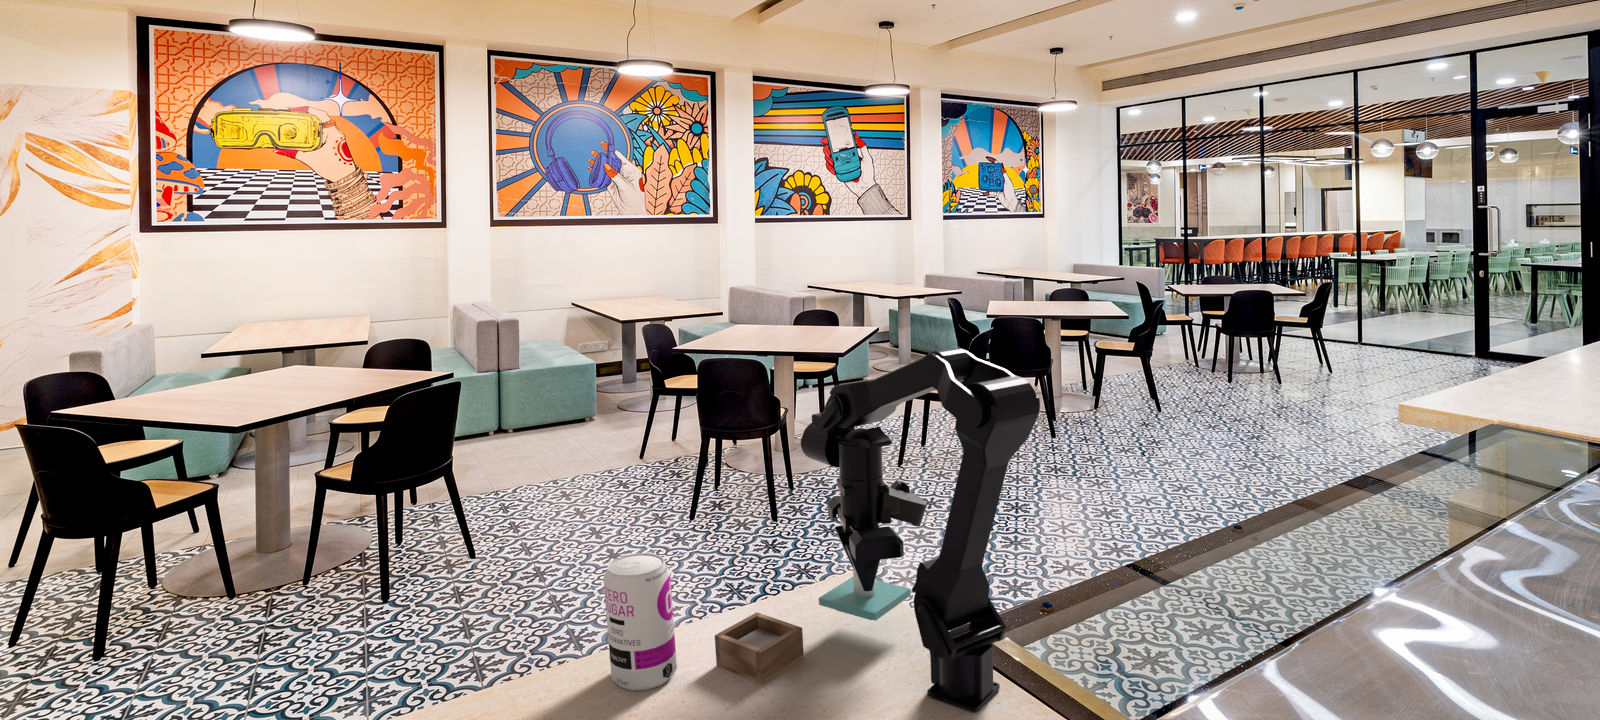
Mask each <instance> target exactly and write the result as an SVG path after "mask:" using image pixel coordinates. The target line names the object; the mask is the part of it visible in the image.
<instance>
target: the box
mask: <svg viewBox="0 0 1600 720" xmlns="http://www.w3.org/2000/svg"><path fill="white" fill-rule="evenodd" d="M803 634H804V633H803V627H802V626H798V625H795V624H793V623H790V622H787V621H784V620H781V619H778V618H775V617H773V616H769V615H766V614H764V613H761V612H757V611H755V613H753V614H751V615H749V616H747V617H745V618H743V619H742V620H740V621H738V622H736V623H735V624H732V625H731V626H729V627H727V628H726V629H723V630H722V631H720V632H718V633H717V634H715V635H714V644H715V645H714V647H715V648H714V649H715V661H716V662H715V663H716V667H718V668H721V669H723V670H725V671H728V672H731V673H733V674H735V675H738V676H740V677H743V678H745V679H747V680H749V681H751V682H754V683H757V684H759V685H762V686H763V685H765V684H766V683H768V682H769V681H771V680H772V679H774V678H776V677H777V676H779V675H780V674H781V673H783V672H785V671H786V670H788V669H790V668H791V667H792V666H794V665H796V664H797V663H799V662H800V661H802V660H803V659H805V658H804V657H805V655H804V652H805V651H804V640H803V639H804V636H803Z"/></svg>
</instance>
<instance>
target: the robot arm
mask: <svg viewBox="0 0 1600 720" xmlns="http://www.w3.org/2000/svg"><path fill="white" fill-rule="evenodd" d="M964 385H965V386H964ZM934 391H937V395H938V397H939V400H940V404H941V406H942V408H943V409H945V410H946V411H947V412H948V413H949V414H951V416H953V417H955V427H954V429H955V432H956V435H957V438H958V439H959V441H960V445H961V447H962V450H963V451H962V452H963V453H962V457H961V462H960V466H959V471H958V475H957V479H956V483H955V488H954V492H953V496H952V501H951V505H950V509H949V513H948V518H947V522H946V526H945V527H946V528H945V531H944V535H943V539H942V544H941V548H940V553H939V555H938V557H935V558H931V559H927V560H925V561H922V562H920V563H919V565H918V566H917V569H916V577H915V583H914V585H913V587H912V588H911V592H912V593H914V597H913V608H914V609H913V610H914V614H915V618H916V623H917V627H918V631H919V634H920V635H919V636H920V640H921V643H922V646H923V647H924V648H925V649H927V650H928V651H929V656H930V682H931V684H933V685H932V686H931V687H929V688H928V689H927V692H926V693H927V696H928V697H931V698H933V699H936V700H940V701H943V702H945V703H948V704H951V705H953V706H956V707H959V708H962V709H964V710H968V711H971V712H977V711H979V710H980V709H981V708H982V707H983V706H984V705H985V704H986V703H987V702H988V701H989V700H990V699H991V698H992V697H993V696H994V695H995V694H996V693H997V692H998V691H999V690H1000V687H1001V686H1000V683H998V682H996V681H994V645H993V643H995V642H1000V641H1002V640H1003V639H1004V637H1005V636H1004V635H1005V633H1006V630H1007V626H1006V624H1005V623H1004V620H1003V619H1002V617H1001V616H1000V613H999V612H998V611H997V609H996V607H995V606H994V605H995V604H994V603H993V602H992V600H991V599H990V596H989V595H990V594H989V593H990V581H989V579H988V576H987V575H986V572H985V570H984V568H983V567H984V566H983V564H984V560H985V555H986V551H987V548H988V544H989V539H990V537H991V533H992V528H993V523H994V521H995V520H994V519H995V516H996V512H997V508H998V505H999V501H1000V496H1001V493H1002V489H1003V484H1004V481H1005V477H1006V474H1007V470H1008V466H1009V463H1010V460H1011V458H1013V457H1014V455H1015V454H1016V453H1017V452H1018V450H1019V449H1020V448H1021V447H1022V446H1023V445H1024V444H1025V442H1026V441H1027V440H1028V439H1029V437H1030V435H1031V433H1032V431H1033V429H1034V426H1035V424H1036V422H1037V420H1038V417H1039V414H1040V412H1041V410H1040V409H1041V400H1040V397H1038V396H1037V393H1036V390H1035V389H1034V387H1033V386H1032V384H1031V383H1030V382H1029V381H1028V380H1026V379H1025V377H1022V376H1018V375H1015V374H1013V373H1012V372H1011V371H1009V370H1008V369H1006V368H1004V367H1001V366H999V365H996V364H994V363H991V362H989V361H986V360H983V359H981V358H978V357H976V356H975V355H974V354H973V353H971V352H969V351H968V350H966V349H964V348H961V347H954V348H953V347H952V348H945V349H940V350H934V351H930V352H928V354H926V355H924V356H923V357H921V358H919V359H917V360H914V361H912V362H910V363H908V364H906V365H903V366H901V367H898V368H896V369H895V370H892V371H890V372H887V373H885V374H883V375H881V376H878V377H876V378H872V379H866V380H865V379H864V380H859V381H853V382H848V383H841V384H836V385H834V386H833V387H832V388H831V389H830V390H829V394H830V396H829V397H828V398H827V401H826V403H825V406H823V407H824V408H823V410H822V412H818V413H813V414H811V423H809V424H808V425H807V426H806V427H805V429H804V430H803V433H802V436H801V437H800V448H801V450H802V453H803V454H804V456H806V457H807V458H809V459H812V460H814V461H817V462H819V463H822V464H825V465H828V466H831V467H832V468H838V469H839V478H836V487H837V488H838V489H839V491H840V492H839V493H840V495H834V496H832V498H831V499H830V500H829V501H828V502H827V516H828V518H829V519H830V521H831V522H836V520H837V517H838V518H839V520H840V521H839V522H840V525H836V526H834V531H835V532H836V534H837V537H838V539H839V542H840V544H841V546H842V547H843V549H844V552H845V555H846V557H847V560H848V561H849V564H850V566H851V568H852V569H853V566H854V568H855V571H856V573H857V575H858V578H859V580H860V583H861V585H862V587H863V590H864V591H871V590H872V589H873V585H874V581H875V579H876V578H877V575H878V574H877V573H878V570H879V566H880V563H881V561H882V560H891V559H899V558H900V559H901V558H902V557H904V555H905V554H904V553H905V552H904V541H903V539H902V538H901V537H900V535H899V534H898V533H897V532H896V531H895V530H894V529H893V528H892V527H891V526H881V527H880V526H879V524H882V525H888V524H892V519H893V520H896V521H900V522H903V523H908V524H911V526H913V527H921V525H922V521H923V519H924V515H925V512H926V509H927V506H928V503H927V502H926V501H925V500H924V499H922V497H921V496H918V495H917V494H916V493H914V492H911V490H910V489H911V488H910V485H909V484H908V483H907V482H905V481H902V480H899V479H896V480H895V481H894V482H893V483H892V484H891V485H890V486H889V485H888V484H886V482H885V481H884V476H883V474H884V473H883V447H887V446H891V445H892V444H893V441H892V439H891V438H890V437H889V435H888V434H886V433H885V432H884V431H883V430H882V429H883V428H881V426H874V427H870V428H863V427H861V426H865V425H870V424H873V423H878V422H882V421H884V420H886V419H887V418H888V417H889V416H892V414H894V413H895V412H896V411H897V407H898V406H899V405H901V404H902V403H905V402H908V401H911V400H913V399H916V398H918V397H921V396H924V395H926V394H929V393H931V392H934ZM856 427H857V428H856ZM858 427H859V428H858Z"/></svg>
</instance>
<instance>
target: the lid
mask: <svg viewBox="0 0 1600 720" xmlns="http://www.w3.org/2000/svg"><path fill="white" fill-rule="evenodd" d="M852 574H853V575H852V577H850V578H848V579H847V580H845V581H843V582H842V583H840V584H839V585H837V586H835V587H834V588H832V589H830V590H829V591H828V592H826V593H824V594H823V595H821V596H818V606H821V607H825V608H829V609H832V610H835V611H838V612H841V613H845V614H848V615H853V616H856V617H858V618H862V619H865V620H869V621H874V622H876V621H877V620H879V619H881V618H882V617H883V616H885V615H886V614H887V613H889V612H890V611H891V610H892V609H894V608H895V607H897V606H898V605H900V604H901V603H902V602H904V601H906V600H907V599H908V598H909V597H910V596H911V592H912V590H911V588H908V587H905V586H901V585H897V584H893V583H889V582H885V581H881V580H878V579H876V578H875V581H874V585H873V589H872V590H871V591H864V590H863V587H862V585H861V583H860V580H859V578H858V575H857V573H856V571H855V568H854V566H853V568H852Z"/></svg>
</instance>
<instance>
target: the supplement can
mask: <svg viewBox="0 0 1600 720" xmlns="http://www.w3.org/2000/svg"><path fill="white" fill-rule="evenodd" d="M671 582H672V581H671V571H670V568H669V566H668V565H667V564H666V563H665V560H664V557H662V556H660V555H658V554H655V553H648V552H647V553H646V552H641V553H630V554H625V555H622V556H620V557H617V558H615V559H613V560H611V561H610V562H609V563H608V565H607V568H606V571H605V573H604V576H603V590H604V603H605V613H606V616H605V617H606V627H607V638H608V639H607V640H608V651H609V661H610V674H611V675H610V677H611V680H612V681H613V682H614V683H615V684H617V685H619V687H620V688H623V689H625V690H628V691H629V690H630V691H636V690H638V691H647V690H651V689H655V688H658V687H660V686H663V685H664V684H666V683H667V682H668V681H669V680H670V679H671V678H672V676H673V675H675V672H677V671H676V670H677V668H678V664H677V651H676V650H677V649H676V639H675V638H676V637H675V634H676V633H675V623H674V609H673V596H672V583H671ZM670 677H671V678H670ZM668 679H669V680H668ZM667 680H668V681H667ZM666 681H667V682H666ZM665 682H666V683H665ZM663 683H664V684H663ZM659 685H660V686H659ZM657 686H658V687H657Z"/></svg>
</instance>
